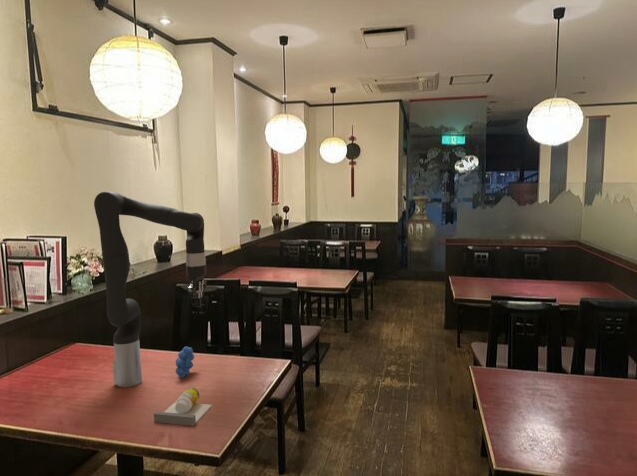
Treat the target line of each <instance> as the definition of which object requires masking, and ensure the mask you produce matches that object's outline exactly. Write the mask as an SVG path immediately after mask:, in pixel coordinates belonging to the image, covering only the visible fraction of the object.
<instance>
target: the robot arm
mask: <svg viewBox="0 0 637 476" xmlns="http://www.w3.org/2000/svg"><path fill="white" fill-rule="evenodd" d="M93 207H94V211H95V216H96V219H97V223H98V229H99V236H100V237H99V238H100V248H101V256H102V265H103V271H104V279H105V289H106V315H107V320H108V322H109V323H110V324H111V326H114V327H116V328H117V329H116V331H115V332H114V334H113V336H112V337H113V338H112V340H113V350H114V351H113V352H114V360H113V361H112V368H113V370H112V371H113V383H114V385H115V386H117V387H119V388H131V387H135V386H138V385H139V384H140V383H142V381H143V375H142V362H141V361H142V359H141V347H140V333H141V329H142V328H141V327H142V324H141V323H142V320H141V308H140V306H139V303H138V302H137V301H136V300H135V299H133V298H127V297H126V285H127V282H128V277H129V273H130V267H131V263H130V254H129V249H128V246H127V243H126V240H125V237H124V235H123V233H122V229H121V224H120V216H130V217H134V218H139V219H143V220H145V221H148V222H152V223H155V224H159V225H163V226H168V227H174V228H177V229H180V230H183V231H186V239H185V270H186V276H187V277H188V278H189V286H186V291H187V293H188V295H189V296H190V298H193V300H194V307H195V308H201V307H202V305H203V303H202V297H203V295H205V291H206V288H207V284H208V280H205V279H204V277H205V276H206V275H207V264H206V263H207V259H206V253H205V242H204V241H205V240H204V237H205V219H204V217H203V216H202V215H201V214H200V213H199V212H186V211H182V210H179V209H176V208H173V207H168V206H165V205H159V204H153V203H150V202H149V203H147V202H143V201H139V200H136V199H133V198H131V197H127V196H126V195H123V194H120V193H118V192H115V191H107V190H106V191H101V192H100V193H98V194H97V195H95V198H94V202H93Z"/></svg>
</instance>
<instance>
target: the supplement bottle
mask: <svg viewBox="0 0 637 476" xmlns="http://www.w3.org/2000/svg"><path fill="white" fill-rule="evenodd" d="M200 395H201V394H200V391H199V390H198V389H197V388H195V387H193V386H191V387H188V388H186V389H185V390H184V391H183V392H182V393H181V395H180V396H179V397H178V398H177V400H176V401H175V402H176V406H175V409H176V411H177V412H178V413H180V414H183V413H185V412H188V411H189V410H190V409H191V408H192V407H193V406H194V404H195V403H196V404H197V402H198V400H199V399H200V397H201V396H200Z"/></svg>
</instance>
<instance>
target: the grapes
mask: <svg viewBox="0 0 637 476" xmlns="http://www.w3.org/2000/svg"><path fill="white" fill-rule="evenodd" d="M177 356H178V358H176V360H175V366H176V369H175V374H176V375H177V376H178V378H179V379H183V378H184V377H187V376H188V375H189V374H190V370H191V369H192V368H193V366H194V363H193V362H192V361H194V359H195V354H194V350H193V347H189V346H187V345H186V346H184V347H182V349H181V350H180V351H179V353H178V354H177Z"/></svg>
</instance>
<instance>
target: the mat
mask: <svg viewBox="0 0 637 476" xmlns="http://www.w3.org/2000/svg"><path fill="white" fill-rule="evenodd" d="M175 406H176V401H175V402H174V403H172V404H171V405H170V406H169V407H167V408H166V410H164V411H158V410H156V411H154V413H153V422H154V423H161V424H171V425H182V426H188V427H190V426H191V427H194V426H195V425H196V424H197V423H198V421H200V420H201V418H203V416H205V414H206V413H207V412H208V411H209V410H210V409H211V408H212V407H213V405H212V404H206V403H205V404H204V403H197V402H196V403H195V404H194V406H193V407H192V408H191V409H190V410H189V411H188V412H185V413H183V414H180V413H178V412H177V411H176V409H175Z"/></svg>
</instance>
